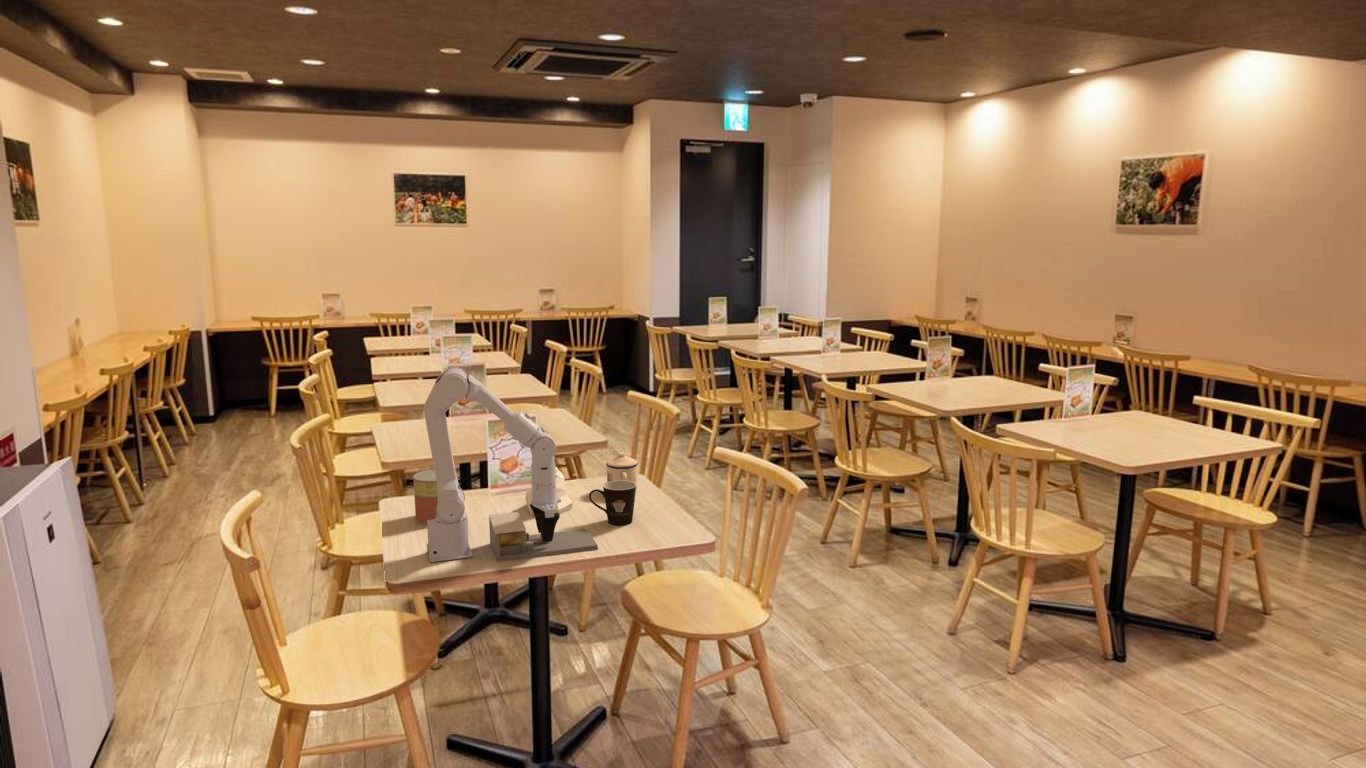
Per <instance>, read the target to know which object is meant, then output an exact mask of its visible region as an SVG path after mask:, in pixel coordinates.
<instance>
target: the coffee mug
mask: <svg viewBox="0 0 1366 768" xmlns="http://www.w3.org/2000/svg"><path fill="white" fill-rule="evenodd" d="M602 485H603V486H602V488H603V490H601V489H597V488H596V489H593V490H591V491H590V492H589V495H588V499H589V501H590V502H591V503H592V504H593V505H594V506H595V507H596V508H598V509H599V510H602V511H603V512H605V514H606V517H607V523H608V524H609V525H611V526H615V527H623V526H628V525H631V524H632V523H633V518H634V510H635V501H636V500H635V499H636V493H637V491H636V483H634V482H632V481H627V480H615V481H609V482H607V481H605V483H603V484H602ZM635 492H636V493H635ZM594 493H599V494H601V495H602V497H603V498H604V502H605V508H604V507H602V506H601V505H600V504H597V502H595V501H594V500H593V499H592V494H594Z"/></svg>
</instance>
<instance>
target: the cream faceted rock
mask: <svg viewBox="0 0 1366 768" xmlns="http://www.w3.org/2000/svg"><path fill="white" fill-rule="evenodd" d="M555 471H556V498H561V502H560V503H557V504H556V506H555V508H554V513H559V514H560V515H562V514H564V513H566V512H567V511H569V510H571V509H573V505H574V503H573V501H572V500H571V499H570V497H569V496H568V495H567V493H566V490H565V485H566V484H565V476H564V474H563V473H562V472H561V471H560V470H559V469H558V467H557V466H555ZM524 496H525V497H524V498H525V502H526V506H527V508H528V512H529V515H532V516H534V513H533V510H532V509H531V507H530V504H531V501H532V489H530V490H528V491H526V492H525V495H524Z"/></svg>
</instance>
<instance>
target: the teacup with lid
mask: <svg viewBox="0 0 1366 768" xmlns="http://www.w3.org/2000/svg"><path fill="white" fill-rule="evenodd" d="M605 465H606V482H609V481H615V480H627V481H632V482H634V483H636V492H635V494H636V493H637V491H638V481H637V480H638V477H637V476H638V475H637V474H638V471H637V470H638V468H637V467H638V461H637V459H634V458H632V457H630V456H628V455H626V453H625V452H618V455H616V456H614V457H613V458H610V459H608V460H606V463H605Z"/></svg>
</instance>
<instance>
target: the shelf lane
mask: <svg viewBox="0 0 1366 768" xmlns="http://www.w3.org/2000/svg"><path fill="white" fill-rule="evenodd" d="M488 521H489V522H488V523H489V526H488V528H489V544H490V546H491V550H492V553H493V556H494V558H495V561H496V562H505V561H513V560H521V559H528V558H537V557H544V556H553V555H561V554H568V553H577V552H579V553H580V552H584V551H585V552H587V551H594V550H598V547H599V546H598V545H599V544H597V542H596V540H595V539H594V537H593V535H592V534H591V532H589V530H588V528H580V529H573V530H562V531H554V535H553V540H552V541H550V542H548V543H542V542H541V543H533V542H531V543H526V542H530V541H538V540H541V533H537V534H530V533H529V532H527V531H526V530H527V529H526V526H525V524H524V521H523V520H522V517H521V516H520V513H519V511H516V512H514V511H513V512H506V513H505V512H504V513H495V514H488ZM518 531H521V544H514V545H506V546H500V534H501V533H509V532H518ZM525 531H526V540H525Z"/></svg>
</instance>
